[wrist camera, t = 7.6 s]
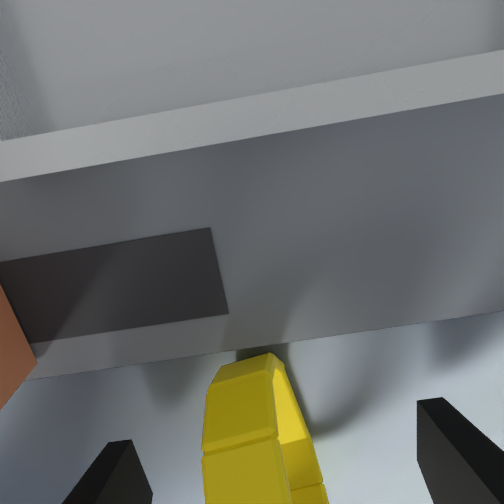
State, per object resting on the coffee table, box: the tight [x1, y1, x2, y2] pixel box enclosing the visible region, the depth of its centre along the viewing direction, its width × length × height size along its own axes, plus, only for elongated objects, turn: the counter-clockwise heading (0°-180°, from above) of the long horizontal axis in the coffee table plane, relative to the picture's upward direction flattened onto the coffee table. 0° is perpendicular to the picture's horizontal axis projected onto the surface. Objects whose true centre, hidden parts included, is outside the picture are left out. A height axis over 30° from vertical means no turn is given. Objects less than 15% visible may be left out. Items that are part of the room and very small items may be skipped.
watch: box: [201, 352, 329, 504], centre depth 8 cm, size 6×3×6 cm, turn 19°
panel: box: [0, 93, 504, 381], centre depth 7 cm, size 14×12×1 cm
